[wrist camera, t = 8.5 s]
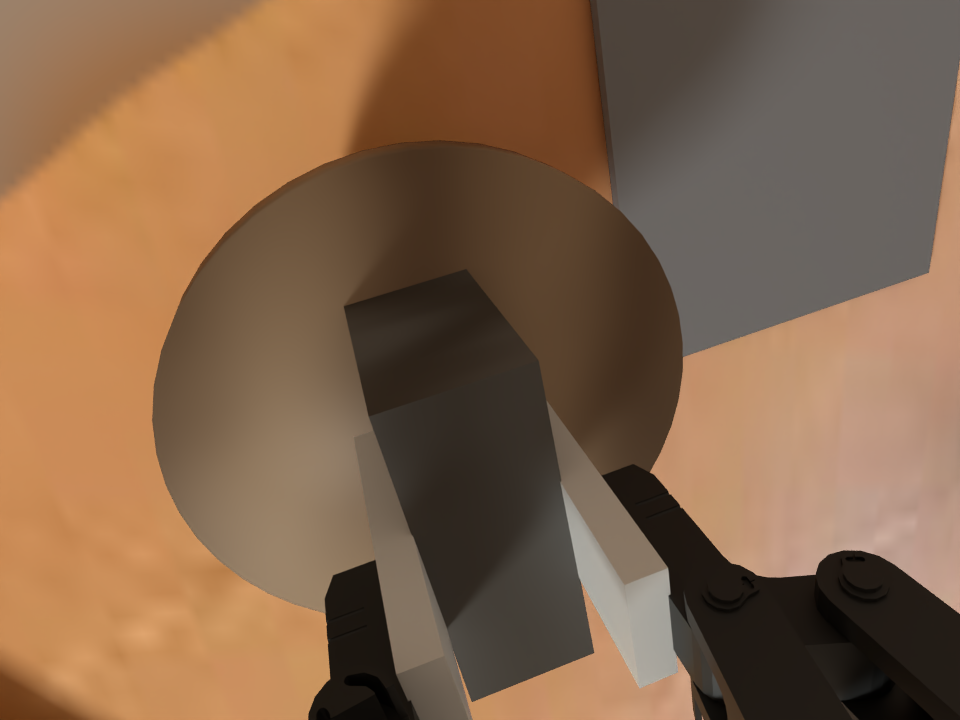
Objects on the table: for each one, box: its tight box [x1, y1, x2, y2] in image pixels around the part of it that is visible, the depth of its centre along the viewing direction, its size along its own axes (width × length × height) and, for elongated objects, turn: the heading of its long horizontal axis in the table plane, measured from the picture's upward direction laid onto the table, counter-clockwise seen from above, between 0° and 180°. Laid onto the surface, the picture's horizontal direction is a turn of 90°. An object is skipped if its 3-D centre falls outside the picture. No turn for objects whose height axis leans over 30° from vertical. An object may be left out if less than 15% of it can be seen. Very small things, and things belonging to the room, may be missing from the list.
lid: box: [152, 141, 683, 702], centre depth 15 cm, size 14×14×6 cm
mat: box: [590, 0, 960, 357], centre depth 31 cm, size 18×18×1 cm
